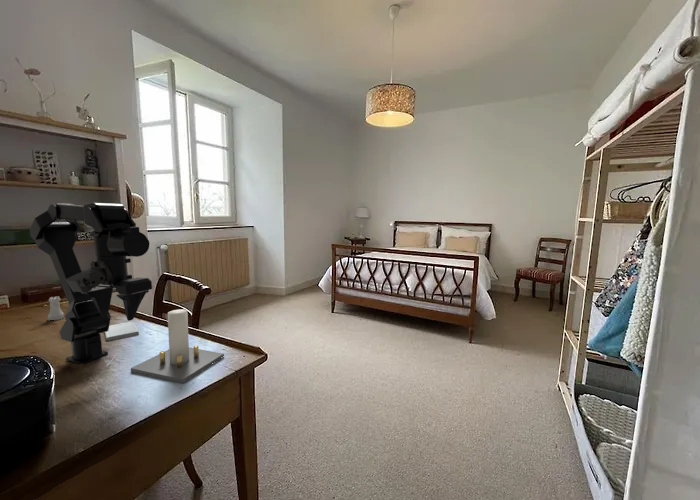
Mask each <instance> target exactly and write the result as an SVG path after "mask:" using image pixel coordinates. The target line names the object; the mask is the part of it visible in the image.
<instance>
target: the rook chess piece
mask: <svg viewBox="0 0 700 500" xmlns="http://www.w3.org/2000/svg"><path fill="white" fill-rule="evenodd" d="M61 300H62V299H61V298H60V296H59V295H58V296H51V297H48V300H47V301H48V302H49V304H48V305H49V307H50V308H49V312H48V315H47V320H48V321H50V320H54V321H59V320H62V319H64V318H65V313H64V312H63V311H62V309H61V306H60V304H61V302H60V301H61Z"/></svg>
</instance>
